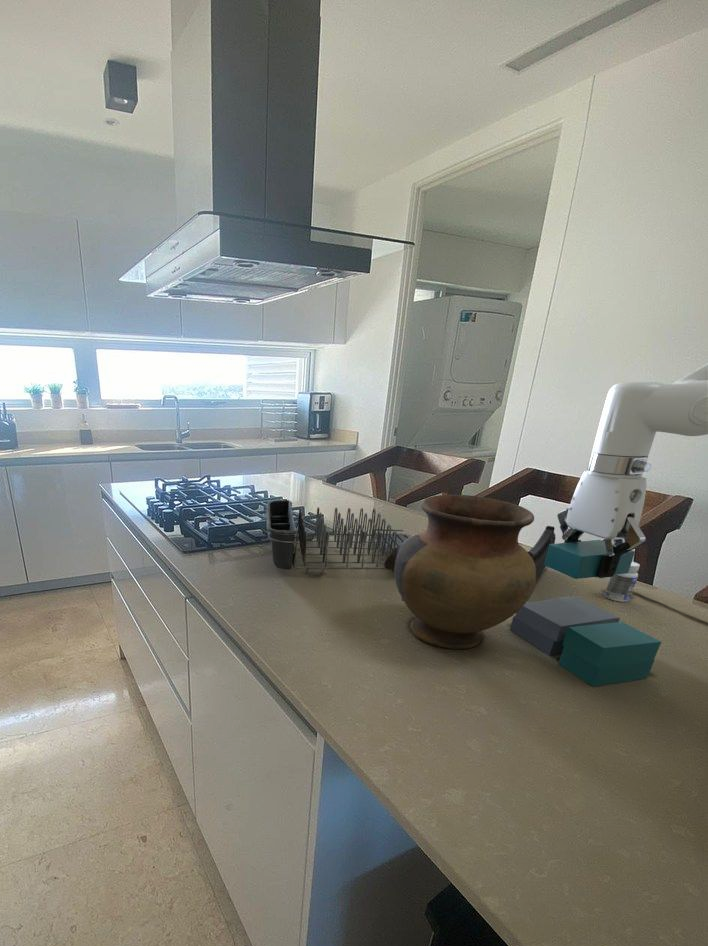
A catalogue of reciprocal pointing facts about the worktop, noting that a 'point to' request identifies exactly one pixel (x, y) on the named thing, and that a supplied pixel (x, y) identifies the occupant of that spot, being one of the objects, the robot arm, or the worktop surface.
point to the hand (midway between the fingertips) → (585, 568)
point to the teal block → (582, 558)
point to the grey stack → (556, 621)
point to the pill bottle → (622, 584)
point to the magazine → (542, 549)
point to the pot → (464, 569)
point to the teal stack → (608, 653)
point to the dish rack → (326, 537)
